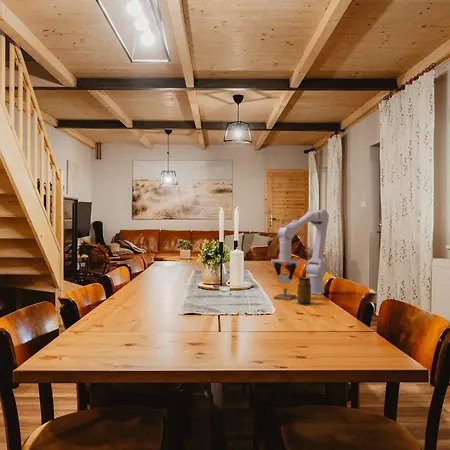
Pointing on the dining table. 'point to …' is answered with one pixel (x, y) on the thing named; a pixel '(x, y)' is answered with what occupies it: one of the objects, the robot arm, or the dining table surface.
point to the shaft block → (285, 296)
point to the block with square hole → (284, 278)
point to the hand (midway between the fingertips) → (285, 278)
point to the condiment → (304, 291)
